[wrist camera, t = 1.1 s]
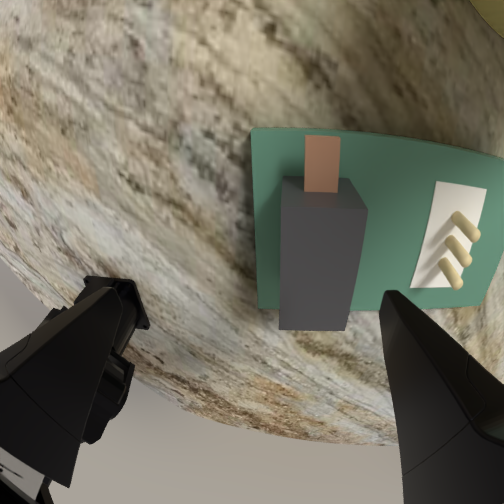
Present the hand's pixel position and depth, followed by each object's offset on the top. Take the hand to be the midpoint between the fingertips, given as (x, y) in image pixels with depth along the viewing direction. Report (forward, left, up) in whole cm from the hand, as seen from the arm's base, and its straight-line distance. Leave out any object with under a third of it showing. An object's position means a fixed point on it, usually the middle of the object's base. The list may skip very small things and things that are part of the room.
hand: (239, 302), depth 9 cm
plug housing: (-2, -3, -11) cm, 12 cm away
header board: (-3, -10, -12) cm, 16 cm away
